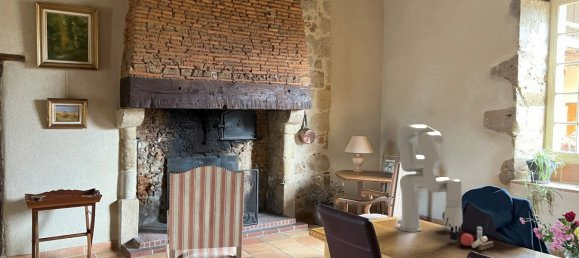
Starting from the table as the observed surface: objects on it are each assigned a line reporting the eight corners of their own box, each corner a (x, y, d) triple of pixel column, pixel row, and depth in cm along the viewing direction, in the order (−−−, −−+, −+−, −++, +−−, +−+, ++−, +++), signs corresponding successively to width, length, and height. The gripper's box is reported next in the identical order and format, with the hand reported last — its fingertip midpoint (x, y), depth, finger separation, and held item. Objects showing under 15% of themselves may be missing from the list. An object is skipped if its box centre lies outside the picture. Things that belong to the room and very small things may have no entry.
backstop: (478, 250, 214) (478, 245, 214) (491, 246, 221) (491, 241, 221) (481, 250, 213) (481, 245, 213) (493, 246, 220) (493, 241, 220)
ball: (469, 237, 217) (468, 249, 218) (476, 234, 220) (475, 245, 222) (458, 233, 222) (457, 244, 223) (465, 230, 225) (465, 241, 226)
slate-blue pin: (476, 244, 225) (476, 227, 225) (478, 243, 226) (478, 226, 226) (480, 245, 223) (480, 228, 223) (483, 244, 224) (483, 227, 224)
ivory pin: (471, 247, 217) (483, 239, 211) (470, 242, 219) (482, 235, 213) (475, 248, 218) (487, 241, 212) (475, 244, 219) (487, 236, 214)
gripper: (455, 201, 235) (455, 235, 236) (438, 204, 226) (438, 240, 227) (468, 203, 229) (468, 238, 230) (451, 206, 220) (451, 243, 221)
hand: (453, 239), depth 228 cm, fingers closed
